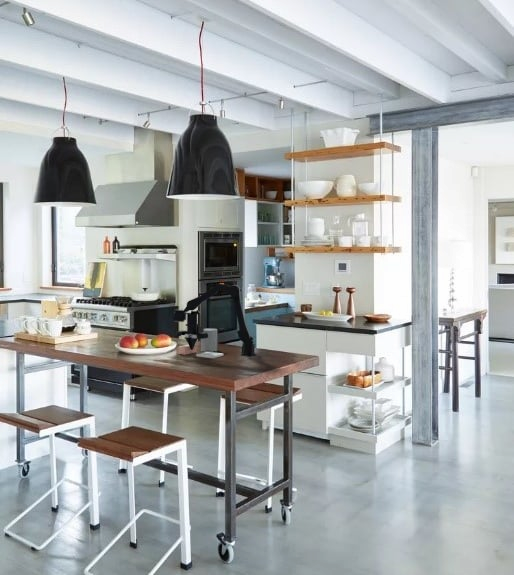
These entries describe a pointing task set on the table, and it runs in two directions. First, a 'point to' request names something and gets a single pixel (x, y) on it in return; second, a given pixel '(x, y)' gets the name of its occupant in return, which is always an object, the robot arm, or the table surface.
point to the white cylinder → (209, 340)
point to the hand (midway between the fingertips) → (192, 349)
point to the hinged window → (209, 354)
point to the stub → (186, 349)
